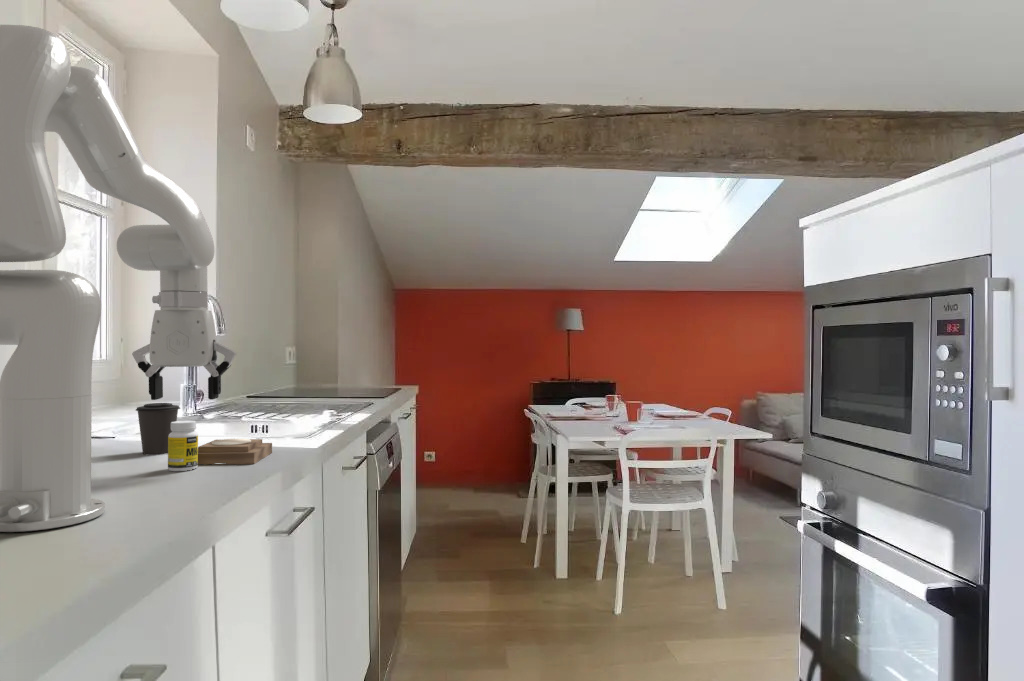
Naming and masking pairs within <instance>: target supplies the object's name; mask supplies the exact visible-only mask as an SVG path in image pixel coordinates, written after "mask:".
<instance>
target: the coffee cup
mask: <svg viewBox="0 0 1024 681" xmlns="http://www.w3.org/2000/svg"><path fill="white" fill-rule="evenodd" d="M180 409H181V407H180V405H177V404H173V403H170V402H153V403H145V404H143V405H141V406H137V407H136V408H135V411H136V412H137V416H138V424H139V432H140V439H141V448H142V454H143V453H145V454H144V455H146V454H158V455H165V454H164V453H167V454H168V436H169V434H170V433H171V432H172V431H171V422H175V421H178V413H179V412H178V411H179V410H180Z"/></svg>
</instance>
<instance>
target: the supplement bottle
mask: <svg viewBox="0 0 1024 681" xmlns="http://www.w3.org/2000/svg"><path fill="white" fill-rule="evenodd" d="M196 429H197V421H196V420H177V421H175V422H171V431H172V432H171V433H170V434H169V436H168V453H167V470H168V471H170V472H188V471H187V470H190V471H193V470H192V469H194V470H196V469H197V468H198V447H199V434H198V432H197V431H195V430H196ZM195 468H196V469H195Z"/></svg>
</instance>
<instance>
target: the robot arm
mask: <svg viewBox="0 0 1024 681" xmlns="http://www.w3.org/2000/svg"><path fill="white" fill-rule="evenodd" d="M45 132H46V133H47V132H48V133H50V132H51V133H56V134H57V135H59V137H60V138H61V140H62V141H63V143H64V145H65V147H66V148H67V150H68V151H69V153H70V155H71V157H72V158H73V160H74V162H75V163H76V165H77V167H78V169H79V170H80V172H81V173H82V175H83V177H84V180H85V181H86V182H87V183H88V185H89V186H90V187H91V188H93V189H95V190H96V191H98V192H100V193H102V194H104V195H108V196H109V197H112V198H114V199H117V200H119V201H122V202H126V203H128V204H131V205H134V206H136V207H138V208H139V207H140V208H142V209H144V210H147V211H148V212H150V213H152V214H154V215H156V216H158V217H160V218H161V219H162V220H164V221H165V222H166V223H167V224H136V225H132V226H129V227H126V228H125V229H124V230H122V231H121V233H120V234H119V235H118V237H117V240H116V251H117V254H118V256H119V258H120V259H121V261H122V262H123V263H124V264H126V265H127V266H129V267H130V268H132V269H135V270H137V271H147V272H149V271H153V272H155V271H156V272H157V271H159V282H160V284H159V292H158V294H157V295H153V296H152V299H151V301H152V303H153V304H157V305H158V307H159V308H160V309H155V310H154V314H153V318H152V325H151V329H150V341H149V343H148V344H146V345H144V346H142V347H140V348H138V349H136V350H134V351H132V357H133V359H134V361H135V362H136V363H137V367H138V368H139V369H140V370H141V372H143V373H144V374H145V376H146V377H147V378H148V394H149V395H150V400H151V401H156V400H160V399H163V397H164V387H163V386H164V385H163V384H164V383H163V382H164V378H163V375H161V373H162V372H163V371H164V369H165V368H166V367H167V368H168V367H169V368H171V367H172V368H174V367H175V368H180V367H181V368H183V367H186V368H187V367H188V368H189V367H190V368H191V367H193V368H195V367H196V368H197V367H203V368H204V369H206V371H207V372H208V373H209V374H210V376H209V377H207V391H208V392H207V396H208V397H207V398H208V400H215V399H218V398H219V397H220V396H219V395H221V393H222V376H223V375H224V373H225V372H226V371H227V370H228V369H229V368H231V366H232V363H233V362H234V360H235V358H236V356H237V352H236V351H235V350H233V349H232V348H229V347H227V346H225V345H223V344H222V343H219V342H218V341H217V332H216V326H215V320H214V315H213V312H212V310H208V309H209V307H208V305H209V304H208V302H209V301H208V298H209V297H208V266H210V265H211V263H212V262H213V260H214V256H215V244H214V238H213V235H212V233H211V229H210V227H209V225H208V222H207V221H206V219H205V217H204V214H203V212H202V210H201V208H200V207H199V205H198V203H197V202H196V200H195V199H194V198H193V197H192V196H191V195H190V194H189V193H188V192H187V191H185V190H184V189H183V187H181V186H180V185H178V184H177V183H176V182H174V181H173V180H172V179H170V178H169V176H167V175H166V174H163V173H162V172H161V171H159V170H157V169H156V168H154V167H153V166H151V165H150V164H149V163H148V162H147V160H146V159H145V156H144V155H143V152H142V151H141V148H140V145H138V143H137V141H136V139H135V137H134V134H133V132H132V131H131V128H130V126H129V124H128V123H127V120H126V118H125V116H124V114H123V112H122V109H121V108H120V106H119V105H118V102H117V101H116V98H115V97H114V94H113V92H112V90H111V88H110V86H109V85H108V84H107V82H106V81H105V79H104V78H103V77H102V76H101V75H99V74H98V73H97V72H95V71H94V70H91V69H88V68H86V67H82V66H74V65H73V66H72V62H71V57H70V54H69V50H68V48H67V46H66V45H65V43H64V41H63V40H61V38H59V36H57V35H56V34H54V33H53V32H51V31H49V30H46V29H45V28H44V29H43V28H41V27H36V26H32V25H22V24H0V263H30V262H33V263H34V262H40V261H44V260H45V261H46V260H50V259H52V258H54V257H56V256H58V255H59V254H61V253H62V251H63V250H64V247H65V246H66V243H67V242H66V241H67V232H66V230H67V229H66V227H65V226H66V225H65V220H64V216H63V213H62V209H61V205H60V202H59V198H58V194H57V191H56V188H55V184H54V180H53V175H52V173H51V169H50V165H49V163H48V162H49V161H48V158H47V152H46V150H45V149H46V147H45V137H44V136H45ZM101 316H102V301H101V296H100V294H99V291H98V290H97V288H96V287H95V285H94V284H93V283H91V282H90V281H89V279H87V278H85V277H83V276H81V275H79V274H77V273H73V272H70V271H66V270H54V269H13V270H12V269H10V270H9V269H1V270H0V346H2V345H3V346H7V345H8V346H12V345H14V346H15V345H16V348H15V350H14V352H13V353H12V354H11V356H10V357H9V359H8V361H7V363H6V364H5V366H4V368H3V370H2V372H1V376H0V532H1V533H2V532H3V533H15V532H16V533H19V532H21V533H22V532H33V531H35V532H36V531H43V530H44V531H45V530H49V529H50V530H51V529H56V528H62V527H67V526H73V525H77V524H81V523H84V522H88V521H91V520H93V519H95V518H98V517H100V516H101V515H103V514H104V513H105V511H106V504H105V502H104V501H103V500H100V499H96V498H92V373H93V358H94V350H95V343H96V337H97V333H98V330H99V325H100V322H101V321H100V320H101ZM218 353H219V354H222V355H223V356H224V358H223V361H222V362H221V363H220V364H218V363H217V360H218ZM148 354H149V362H148V360H147V358H146V355H148Z"/></svg>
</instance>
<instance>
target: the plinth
mask: <svg viewBox="0 0 1024 681" xmlns="http://www.w3.org/2000/svg"><path fill="white" fill-rule="evenodd" d="M271 454H273V443H272V442H263V438H260V439H259V438H256V439H255V438H251V439H249V438H227V439H226V438H225V439H214V440H212V441H209V442H207V443H204V444H202V445H200V446H199V445H198V464H212V465H215V464H214V463H226V464H225V465H255V464H256V463H258V462H259V461H261V460H263V459H265V458H266V457H267V456H269V455H271Z"/></svg>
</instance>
